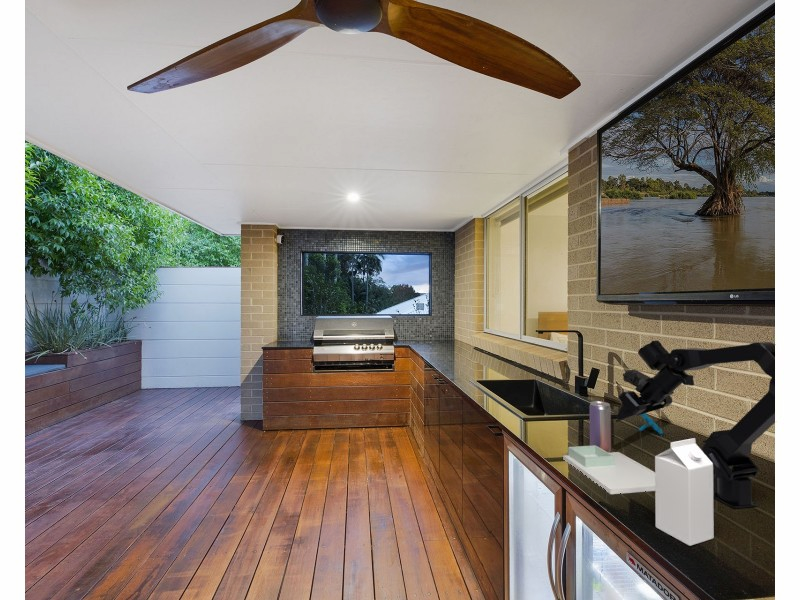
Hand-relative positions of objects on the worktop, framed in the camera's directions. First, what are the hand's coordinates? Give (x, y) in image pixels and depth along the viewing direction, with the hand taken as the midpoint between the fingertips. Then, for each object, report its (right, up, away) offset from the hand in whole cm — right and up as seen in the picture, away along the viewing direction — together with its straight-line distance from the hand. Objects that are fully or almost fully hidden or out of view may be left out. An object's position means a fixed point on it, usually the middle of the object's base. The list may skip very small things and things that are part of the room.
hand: (626, 416), depth 122 cm
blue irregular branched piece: (+22, -13, +24) cm, 35 cm away
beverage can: (-5, -13, +7) cm, 15 cm away
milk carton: (-10, -13, -38) cm, 42 cm away
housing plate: (-8, -13, -10) cm, 18 cm away
